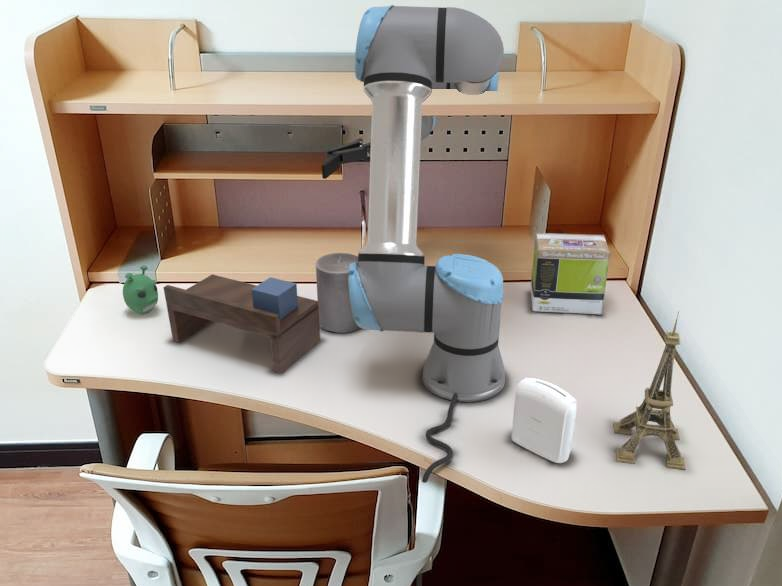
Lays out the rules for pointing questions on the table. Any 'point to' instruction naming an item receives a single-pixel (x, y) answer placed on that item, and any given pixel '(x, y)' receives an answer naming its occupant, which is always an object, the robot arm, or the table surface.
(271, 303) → the slate box
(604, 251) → the tea box
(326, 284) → the pillar candle
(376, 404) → the table surface
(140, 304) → the alien toy
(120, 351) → the table surface
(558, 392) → the photo printer
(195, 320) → the shelf
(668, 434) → the eiffel tower
